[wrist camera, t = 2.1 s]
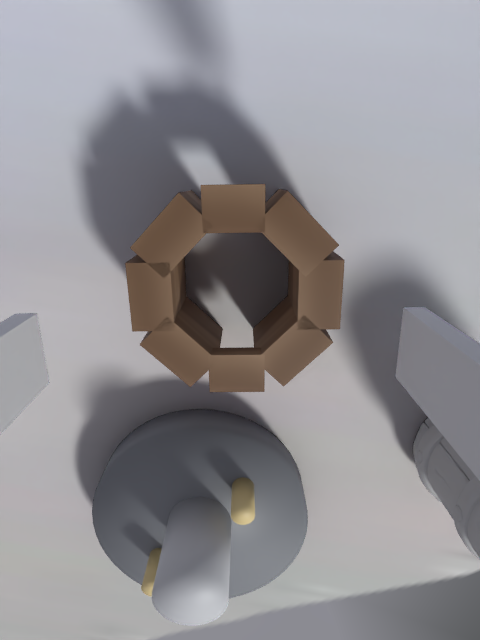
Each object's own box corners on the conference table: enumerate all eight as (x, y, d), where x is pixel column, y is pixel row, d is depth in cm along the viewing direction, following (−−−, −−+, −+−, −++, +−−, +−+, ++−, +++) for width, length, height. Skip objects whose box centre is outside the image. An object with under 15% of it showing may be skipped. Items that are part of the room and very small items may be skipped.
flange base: (196, 368, 28) (178, 440, 20) (344, 495, 31) (376, 598, 23) (63, 497, 31) (5, 598, 24) (208, 598, 34) (199, 716, 27)
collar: (142, 185, 24) (117, 186, 19) (328, 182, 24) (349, 182, 19) (157, 356, 27) (139, 392, 23) (319, 354, 27) (335, 390, 22)
